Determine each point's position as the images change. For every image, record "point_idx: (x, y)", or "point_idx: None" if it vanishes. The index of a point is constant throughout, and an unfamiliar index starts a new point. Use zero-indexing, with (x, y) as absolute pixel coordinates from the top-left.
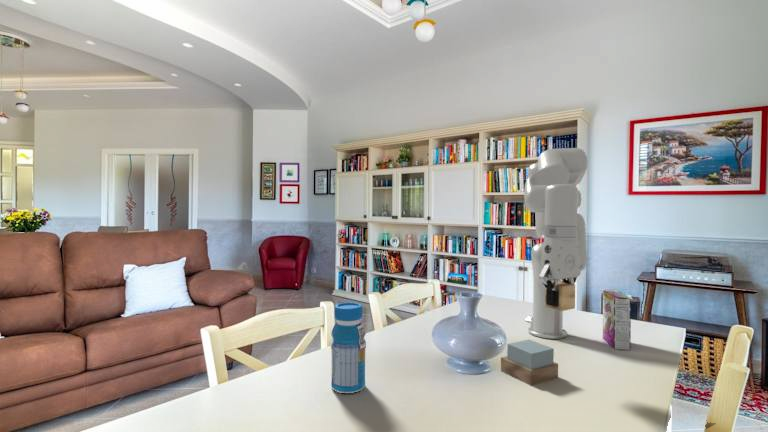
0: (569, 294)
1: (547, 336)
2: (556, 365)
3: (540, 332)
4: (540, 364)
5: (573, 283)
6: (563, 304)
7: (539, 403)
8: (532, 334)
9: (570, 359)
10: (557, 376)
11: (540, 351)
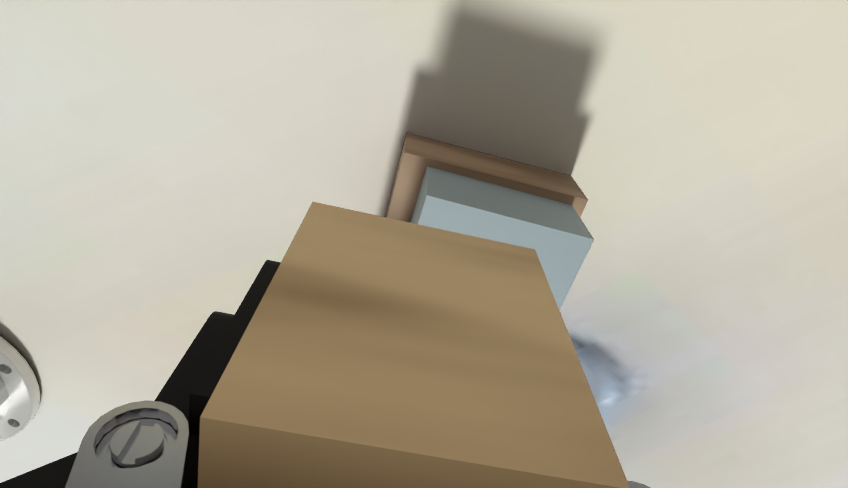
0: (413, 330)
1: (8, 353)
2: (415, 153)
3: (5, 388)
4: (517, 194)
5: (105, 476)
6: (530, 282)
7: (719, 77)
8: (39, 402)
9: (153, 179)
10: (410, 135)
11: (525, 223)
